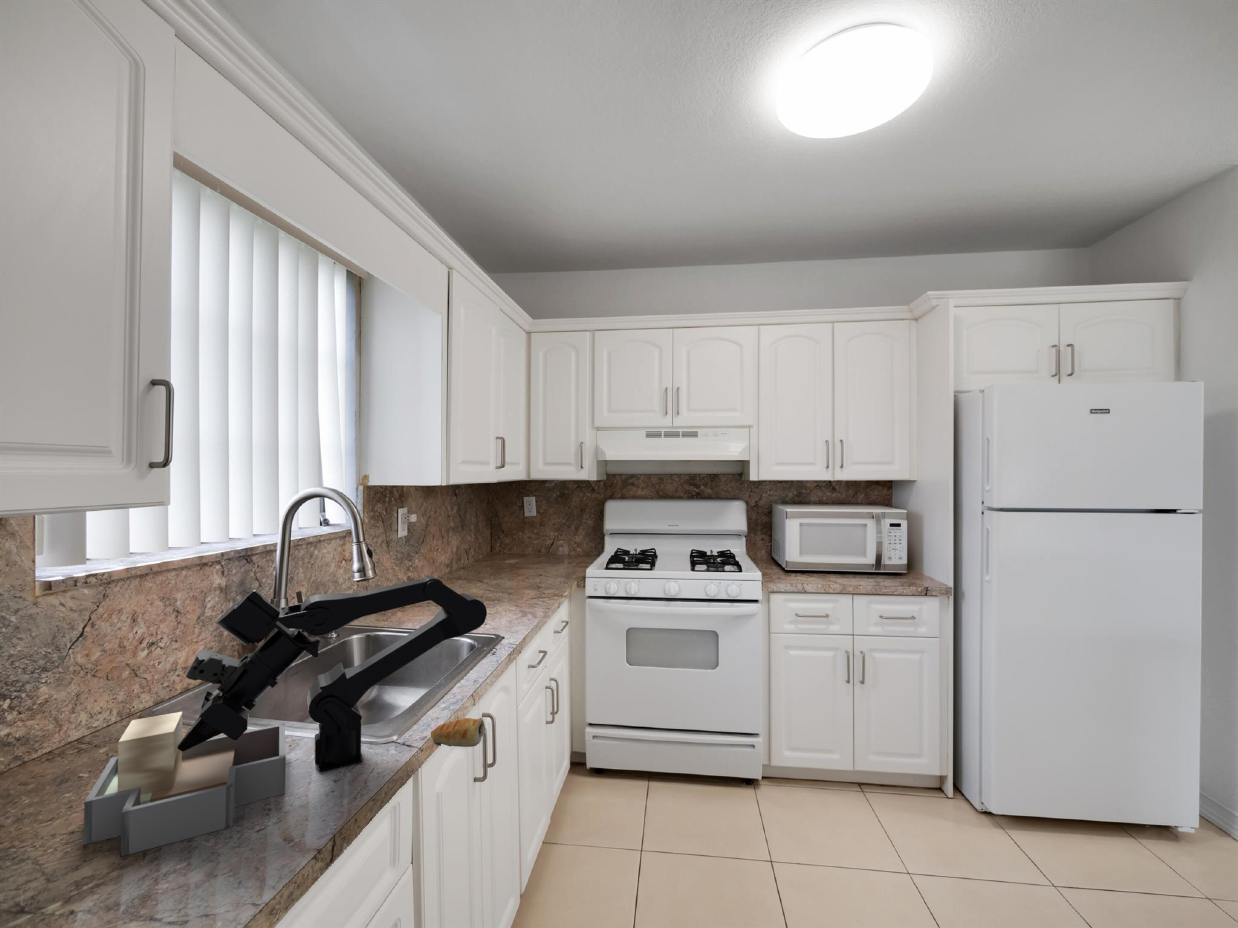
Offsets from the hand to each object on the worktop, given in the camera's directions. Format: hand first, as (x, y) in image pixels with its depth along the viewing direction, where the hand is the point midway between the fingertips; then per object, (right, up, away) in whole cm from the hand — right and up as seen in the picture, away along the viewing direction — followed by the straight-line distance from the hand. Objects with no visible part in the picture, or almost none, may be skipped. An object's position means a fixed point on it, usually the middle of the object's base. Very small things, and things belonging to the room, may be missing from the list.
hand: (180, 748), depth 83 cm
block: (-3, -4, -2) cm, 5 cm away
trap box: (+3, -7, -1) cm, 8 cm away
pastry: (+37, -8, +18) cm, 42 cm away
